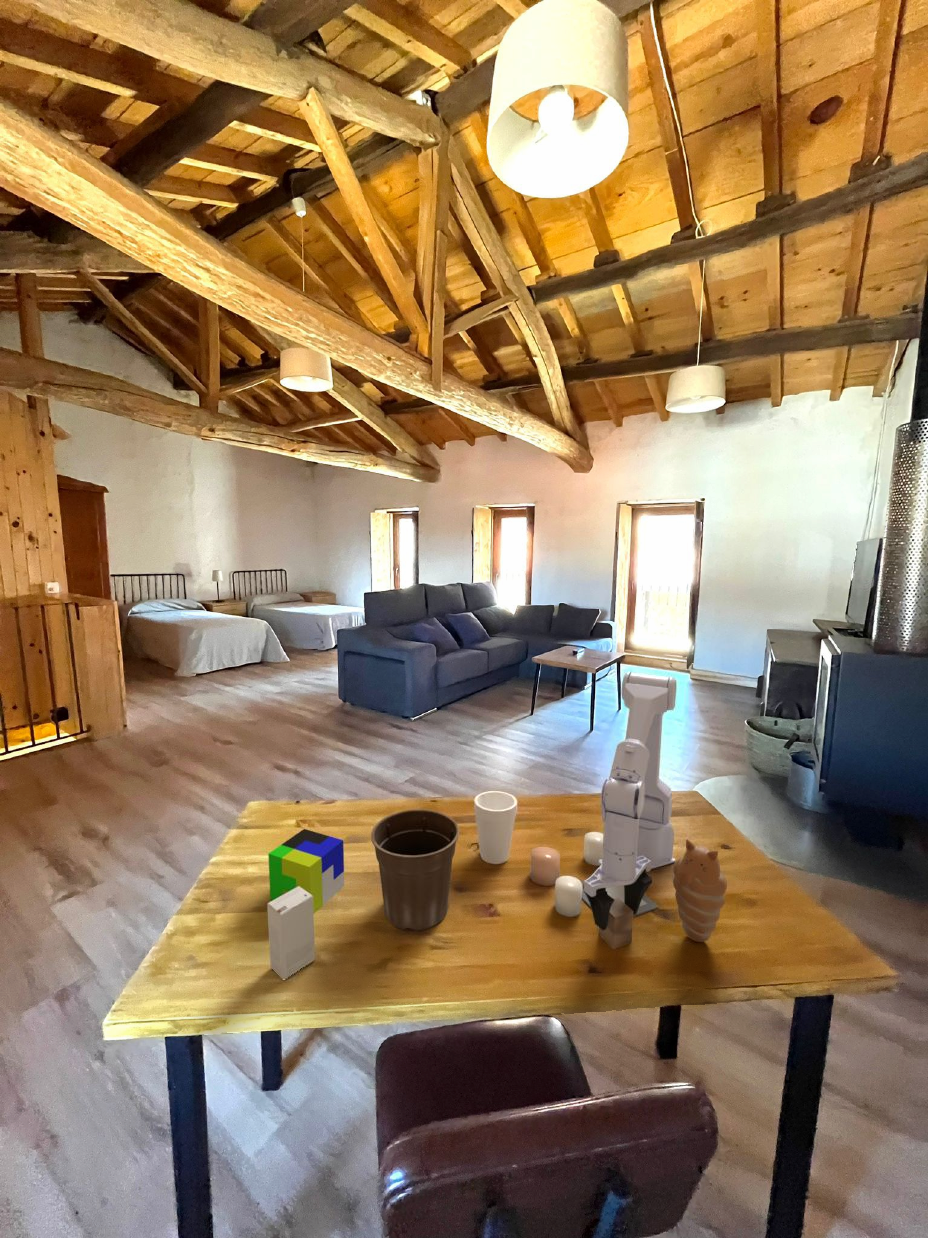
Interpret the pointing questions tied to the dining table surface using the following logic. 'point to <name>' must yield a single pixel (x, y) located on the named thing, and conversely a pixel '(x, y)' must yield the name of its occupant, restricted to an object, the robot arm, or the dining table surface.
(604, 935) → the walnut block
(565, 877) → the cream rounded capsule
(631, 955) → the dining table surface
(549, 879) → the peach rounded blob
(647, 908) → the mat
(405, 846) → the plant pot
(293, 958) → the skincare box
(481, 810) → the foam cup
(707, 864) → the cat ice cream
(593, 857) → the cream rounded cylinder
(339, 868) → the puzzle toy
